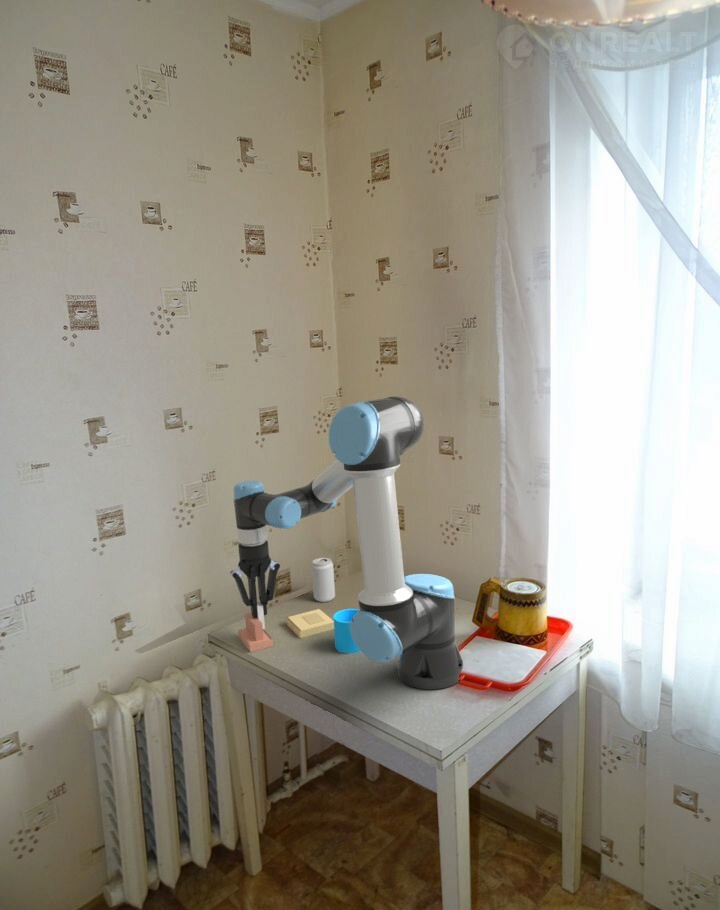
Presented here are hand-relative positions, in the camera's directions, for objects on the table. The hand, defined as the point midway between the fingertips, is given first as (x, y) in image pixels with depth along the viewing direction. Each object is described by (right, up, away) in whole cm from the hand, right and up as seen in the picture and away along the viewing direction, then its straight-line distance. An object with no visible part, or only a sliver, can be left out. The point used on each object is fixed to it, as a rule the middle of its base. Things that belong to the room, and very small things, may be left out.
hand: (260, 627), depth 176 cm
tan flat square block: (+13, -2, +7) cm, 14 cm away
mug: (+23, -3, -3) cm, 24 cm away
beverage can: (+16, +2, +25) cm, 29 cm away
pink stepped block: (-1, -4, 0) cm, 4 cm away
